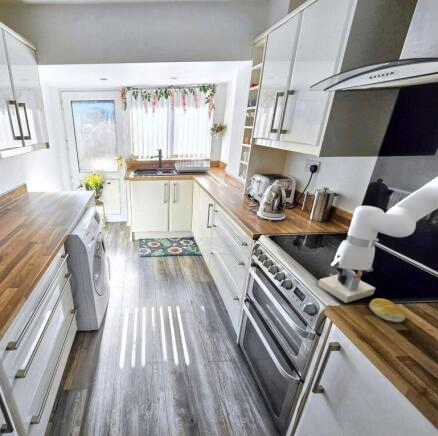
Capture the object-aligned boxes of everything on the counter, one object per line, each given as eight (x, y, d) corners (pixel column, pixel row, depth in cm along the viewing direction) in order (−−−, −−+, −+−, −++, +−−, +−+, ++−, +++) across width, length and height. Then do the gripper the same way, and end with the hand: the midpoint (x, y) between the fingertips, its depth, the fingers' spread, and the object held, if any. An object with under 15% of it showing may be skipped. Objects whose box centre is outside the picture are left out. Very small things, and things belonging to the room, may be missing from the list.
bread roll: (388, 305, 85) (392, 295, 83) (409, 324, 77) (413, 314, 75) (362, 302, 86) (365, 293, 85) (379, 321, 78) (383, 311, 77)
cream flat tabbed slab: (340, 276, 101) (342, 270, 100) (376, 296, 89) (379, 289, 88) (315, 283, 97) (316, 277, 96) (349, 305, 85) (351, 298, 84)
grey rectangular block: (337, 276, 96) (341, 264, 94) (343, 276, 96) (347, 264, 94) (349, 290, 88) (353, 277, 86) (356, 291, 88) (361, 277, 86)
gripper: (380, 237, 87) (365, 279, 94) (329, 234, 91) (318, 275, 97) (395, 246, 80) (377, 291, 87) (339, 243, 84) (326, 286, 90)
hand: (346, 282), depth 92 cm, fingers open, 3 cm apart
